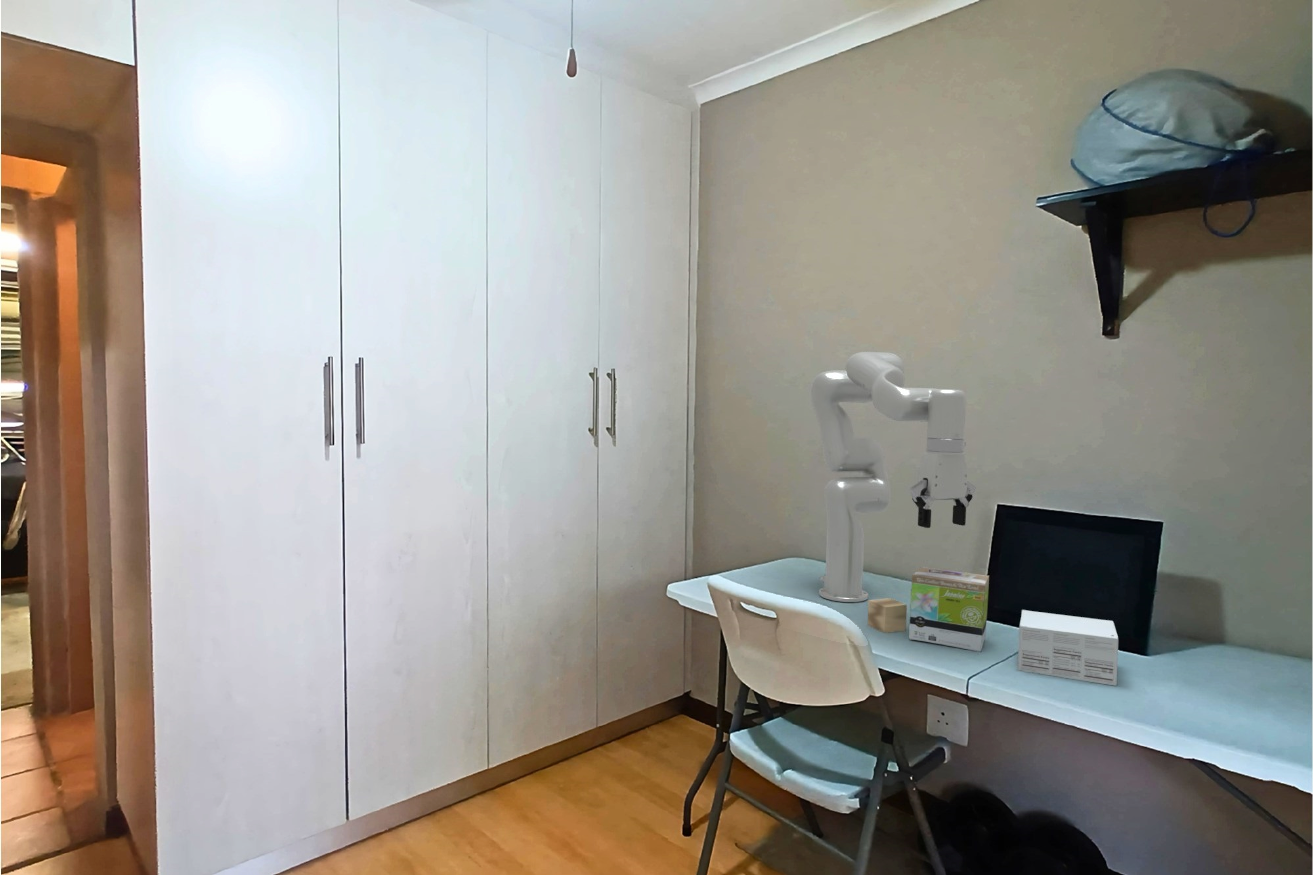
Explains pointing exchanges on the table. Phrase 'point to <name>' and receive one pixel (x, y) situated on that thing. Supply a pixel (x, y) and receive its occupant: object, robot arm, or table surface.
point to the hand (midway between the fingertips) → (941, 525)
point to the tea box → (949, 608)
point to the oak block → (887, 615)
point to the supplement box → (1068, 647)
